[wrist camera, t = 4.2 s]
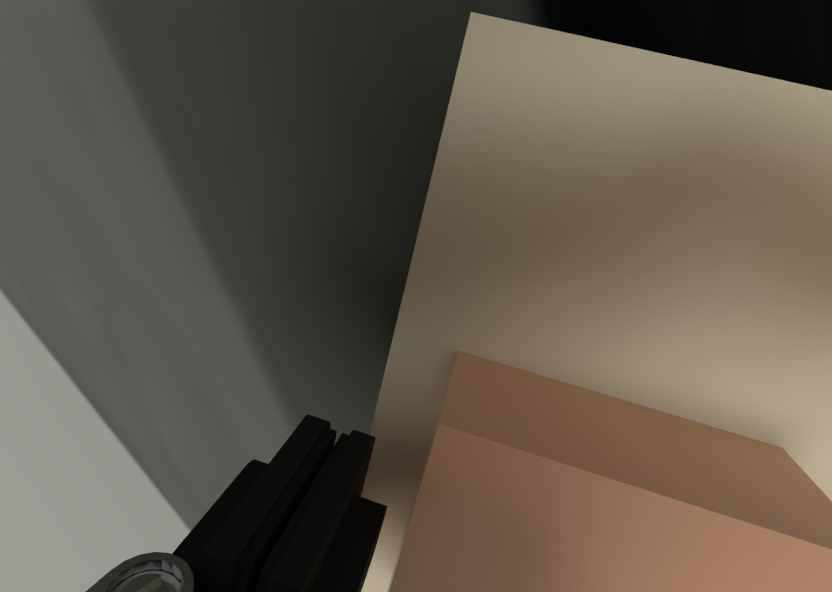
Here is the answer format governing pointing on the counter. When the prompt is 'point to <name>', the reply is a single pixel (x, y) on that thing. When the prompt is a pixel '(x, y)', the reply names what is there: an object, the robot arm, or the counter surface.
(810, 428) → the birch board
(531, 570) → the terracotta tile
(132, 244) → the counter surface
